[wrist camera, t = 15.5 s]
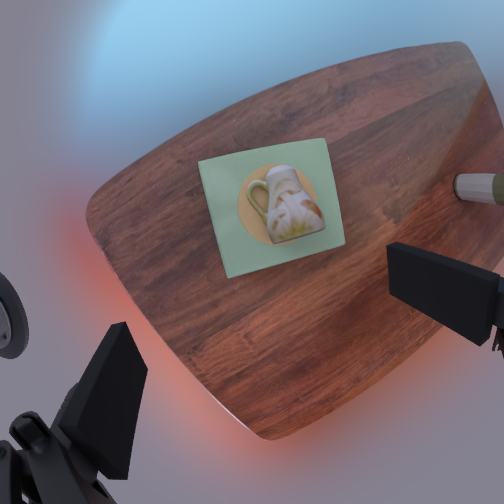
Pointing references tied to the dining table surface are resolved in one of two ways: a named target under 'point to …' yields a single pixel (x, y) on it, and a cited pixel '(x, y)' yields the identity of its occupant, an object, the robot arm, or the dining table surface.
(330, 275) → the dining table surface
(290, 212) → the mug
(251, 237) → the shelf
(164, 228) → the dining table surface
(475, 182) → the bottle
